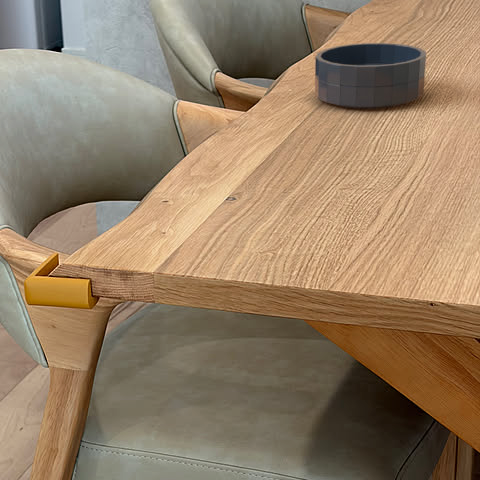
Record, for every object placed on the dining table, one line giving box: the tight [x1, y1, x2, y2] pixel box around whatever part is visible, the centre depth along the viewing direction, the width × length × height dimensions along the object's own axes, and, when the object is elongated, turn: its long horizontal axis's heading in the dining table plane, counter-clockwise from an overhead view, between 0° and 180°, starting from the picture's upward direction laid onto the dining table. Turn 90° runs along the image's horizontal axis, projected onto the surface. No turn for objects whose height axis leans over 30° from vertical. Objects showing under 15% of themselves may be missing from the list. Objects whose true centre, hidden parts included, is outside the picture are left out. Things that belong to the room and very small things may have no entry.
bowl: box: [314, 42, 427, 110], centre depth 106 cm, size 12×12×5 cm
